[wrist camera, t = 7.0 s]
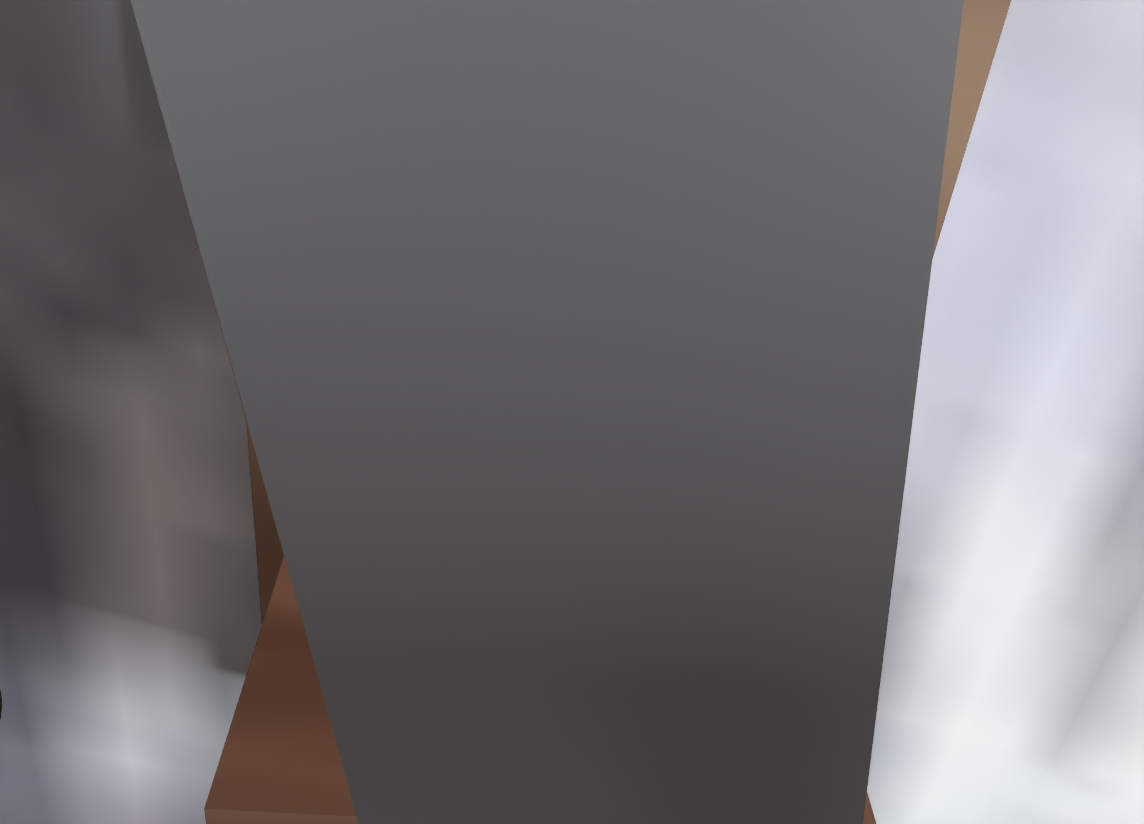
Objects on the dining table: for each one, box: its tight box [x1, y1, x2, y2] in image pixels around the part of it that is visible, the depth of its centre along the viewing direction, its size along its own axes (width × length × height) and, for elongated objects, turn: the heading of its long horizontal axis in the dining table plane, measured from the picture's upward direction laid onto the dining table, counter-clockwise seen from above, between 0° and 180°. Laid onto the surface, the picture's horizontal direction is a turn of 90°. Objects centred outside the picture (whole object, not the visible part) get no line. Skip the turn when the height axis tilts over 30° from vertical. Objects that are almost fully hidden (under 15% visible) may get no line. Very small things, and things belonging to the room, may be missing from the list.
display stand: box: [204, 0, 1011, 824], centre depth 13 cm, size 19×9×6 cm, turn 174°
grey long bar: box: [130, 0, 964, 824], centre depth 8 cm, size 20×3×4 cm, turn 4°
